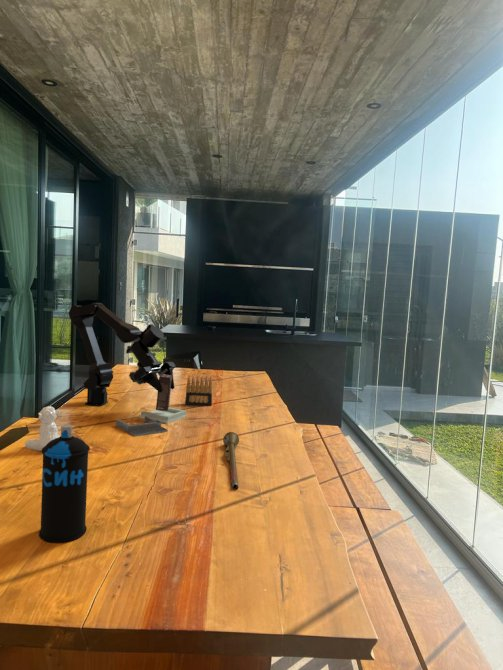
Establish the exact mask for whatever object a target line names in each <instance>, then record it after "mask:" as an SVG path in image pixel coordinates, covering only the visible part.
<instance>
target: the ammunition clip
mask: <svg viewBox="0 0 503 670" xmlns="http://www.w3.org/2000/svg"><path fill="white" fill-rule="evenodd" d="M187 376H188V377H187V381H186V387H185V402H184V403H185V406H202V407H203V406H205V407H211V406H213V405H212V403H213V376H210V377H209V378H208V376H207V375H206V376H205V379H204V376H203V375H201V378H200V376H199V375H197V377H196V379H195V375H192V379H191V376H190V375H189V374H188V375H187Z"/></svg>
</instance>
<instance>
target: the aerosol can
mask: <svg viewBox="0 0 503 670" xmlns="http://www.w3.org/2000/svg"><path fill="white" fill-rule="evenodd" d="M59 436H60V437H58V438H55V439H53V440H51V441H50V442H49V443H48V444H47V445H46V446H45V447H43V448H42V451H41V454H42V472H41V473H42V475H41V476H42V477H41V478H42V479H41V480H42V481H41V506H40V508H41V509H40V513H41V514H40V529H39V531H38V536H39V538H40V539H41V540H42V541H45V542H47V543H52V544H53V543H55V544H58V543H59V544H62V543H63V544H64V543H69V542H73V541H75V540H78V539H79V538H81V537H82V536H83V535H85V534H86V532H87V525H86V521H87V520H86V516H87V513H86V512H87V491H88V489H87V488H88V466H89V464H88V463H89V452H90V449H91V447H90V446H89V445H88V444H87V443H86V441H84V440H83V439H81V438H79V437H77V436H76V437H75V436H73V425H72V424H63V425H61V426H60V435H59Z"/></svg>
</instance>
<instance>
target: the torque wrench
mask: <svg viewBox="0 0 503 670" xmlns="http://www.w3.org/2000/svg"><path fill="white" fill-rule="evenodd" d="M239 442H240V438H239V435H238V434H237V433H236V432H233V431H228V432H227V433H225V435H224V436H223V444H224V446H226V449H225V450H224V454H225V458H226V459H227V462H228V463H230V464H229V466H230V479H231V480H230V481H231V489H232V490H234V487H235V489H236V490H239V480H238V471H237V460H236V449H235V448H236V447H237V446H238V445H239Z"/></svg>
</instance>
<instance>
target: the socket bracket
mask: <svg viewBox="0 0 503 670" xmlns="http://www.w3.org/2000/svg"><path fill="white" fill-rule="evenodd" d="M115 426H116V427H118V428H119V429H121V430H122V431H124V432H126V433H127V434H129V435H131V436H133V437H140V436H147V435H153V434H161V433H167V432H169V431H168V429H167V428H166V427H163V426H162V422H160V421H158V420H156V419H154V418H152V417H150V416H145V419H144V422H143V423H136V424H130V423H127V422H126V421H124V420H122V419H120V418H118V419H115Z"/></svg>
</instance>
